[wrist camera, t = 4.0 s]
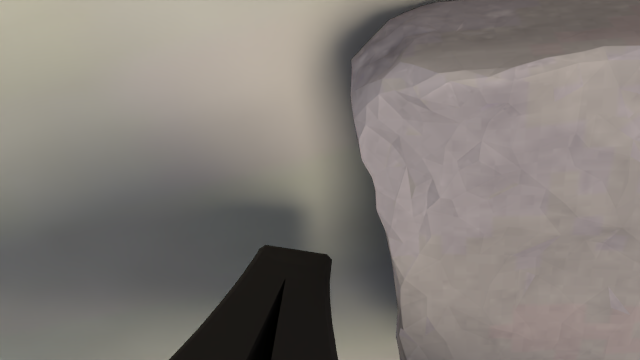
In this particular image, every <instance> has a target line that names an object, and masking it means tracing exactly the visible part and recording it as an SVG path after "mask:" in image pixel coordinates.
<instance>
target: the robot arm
mask: <svg viewBox="0 0 640 360" xmlns="http://www.w3.org/2000/svg"><path fill="white" fill-rule="evenodd" d="M331 264H332V259H331V258H330V257H329V256H328V255H327V254H321V253H314V252H308V251H301V250H295V249H288V248H282V247H275V246H269V245H265V246H263V247H262V248H260V249H259V251H258V252H257V254H256V255H255V257H254V259H253V260H252V261H251V263H250V264H249V266H248V267H247V269H246V270H245V271H244V273H243V274H242V276H241V277H240V278H239V280H238V281H237V282H236V284H235V285H234V286H233V287H232V289H231V290H230V291H229V293H228V294H227V295H226V296H225V298H224V299H223V300H222V301H221V302H220V304H219V305H218V306H217V307H216V308H215V310H214V311H213V312H212V313H211V314H210V316H209V317H208V318H207V319H206V320H205V322H204V323H203V324H202V325H201V326H200V327H199V328H198V330H197V331H196V332H195V333H194V334H193V335H192V336H191V337H190V338H189V339H188V340H187V341H186V342H185V343H184V345H183V346H182V347H181V348H180V349H179V350H178V351H177V352H176V353H175V354H174V355H173V356H172V357H171V358H170V359H169V360H338V357H337V351H336V345H335V338H334V332H333V325H332V317H331V305H330V273H331Z"/></svg>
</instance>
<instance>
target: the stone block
mask: <svg viewBox="0 0 640 360" xmlns="http://www.w3.org/2000/svg"><path fill="white" fill-rule="evenodd" d="M351 65H352V76H351V104H352V111H353V118H354V123H355V128H356V133H357V138H358V143H359V148H360V154H361V159H362V162H363V163H364V165H365V167H366V168H367V170H368V172H369V173H370V175H371V177H372V180H373V183H374V187H375V192H376V210H377V212H378V215H379V217H380V219H381V222H382V224H383V226H384V229H385V232H386V237H387V242H388V247H389V251H390V256H391V261H392V266H393V273H394V281H395V289H396V298H397V306H398V315H397V329H396V339H397V344H398V349H399V355H400V360H640V0H455V1H445V2H435V3H431V4H427V5H423V6H420V7H418V8H415V9H413V10H410V11H407V12H405V13H402V14H401V15H399V16H397V17H394V18H392V19H390V20H388V21H387V22H386V23H385V25H384V26H383V27H382V28H381V29H380V30H379V31H378V32H377V33H376V34H375V35H374V36H373V37H372V38H371V39H370V40H369V41H368V42H367V43H366V44H365V45H364V46H363V47H362V48H361V50H360V51H359V52H358V53H357V54H356V55H355V56H354V57H353V58H352V59H351Z"/></svg>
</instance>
